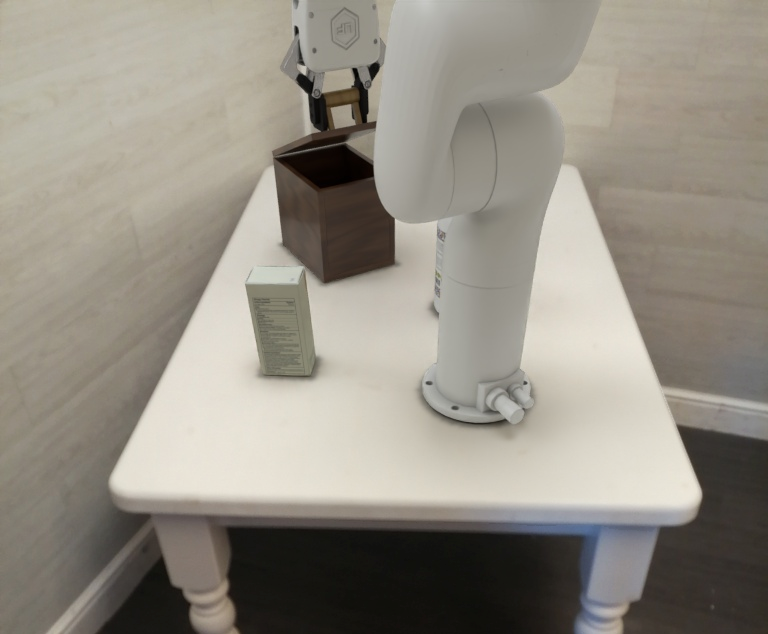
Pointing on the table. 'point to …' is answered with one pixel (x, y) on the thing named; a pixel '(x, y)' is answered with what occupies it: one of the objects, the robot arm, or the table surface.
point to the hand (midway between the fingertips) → (340, 124)
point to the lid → (332, 125)
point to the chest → (333, 212)
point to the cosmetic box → (281, 319)
